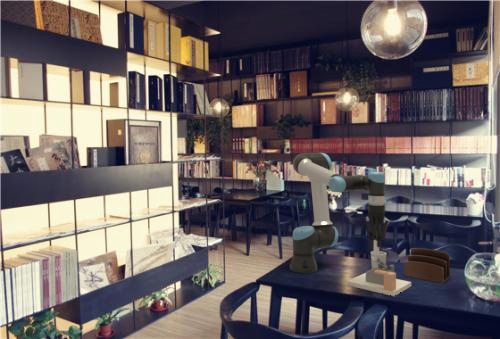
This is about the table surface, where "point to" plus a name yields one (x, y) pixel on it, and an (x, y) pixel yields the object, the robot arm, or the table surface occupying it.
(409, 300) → the table surface
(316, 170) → the robot arm
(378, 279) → the board
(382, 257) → the cup
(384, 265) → the translucent flat bar
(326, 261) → the table surface
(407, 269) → the letter holder
